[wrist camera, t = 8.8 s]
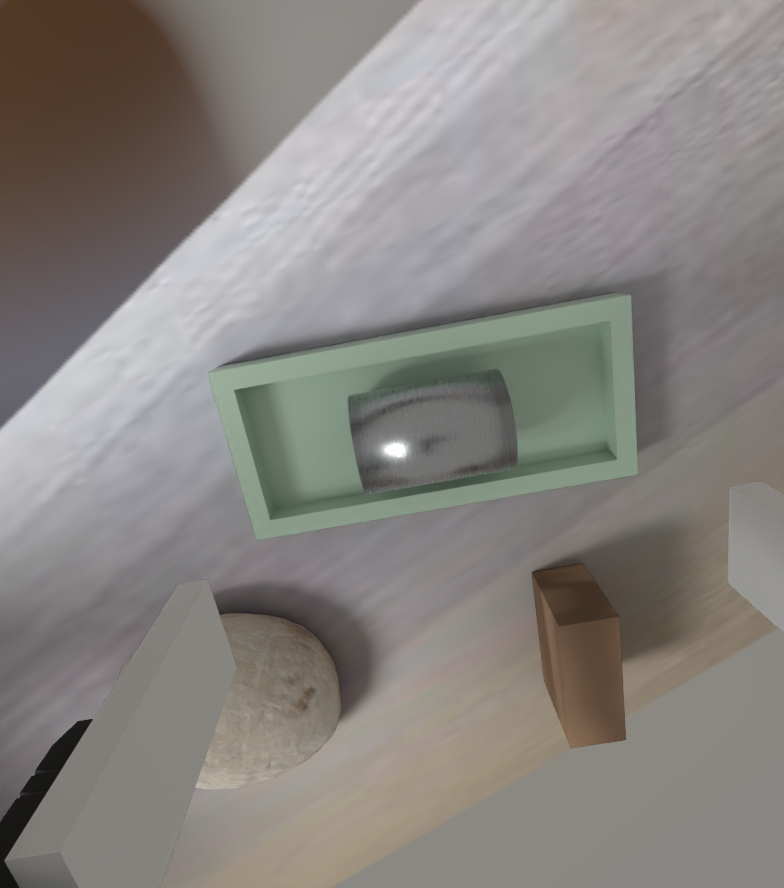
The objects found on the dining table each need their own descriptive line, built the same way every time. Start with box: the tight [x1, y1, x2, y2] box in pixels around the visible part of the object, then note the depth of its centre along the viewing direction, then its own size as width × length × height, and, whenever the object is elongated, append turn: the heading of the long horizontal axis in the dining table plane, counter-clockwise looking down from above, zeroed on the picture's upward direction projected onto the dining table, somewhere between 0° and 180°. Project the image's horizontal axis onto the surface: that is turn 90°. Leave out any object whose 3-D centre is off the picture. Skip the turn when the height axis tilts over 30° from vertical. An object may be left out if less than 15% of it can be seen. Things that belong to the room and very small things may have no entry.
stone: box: [117, 613, 341, 790], centre depth 31 cm, size 13×10×8 cm
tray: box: [208, 293, 638, 541], centre depth 27 cm, size 20×9×2 cm, turn 100°
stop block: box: [532, 564, 626, 748], centre depth 30 cm, size 3×8×5 cm, turn 10°
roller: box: [348, 369, 518, 495], centre depth 25 cm, size 5×7×5 cm
